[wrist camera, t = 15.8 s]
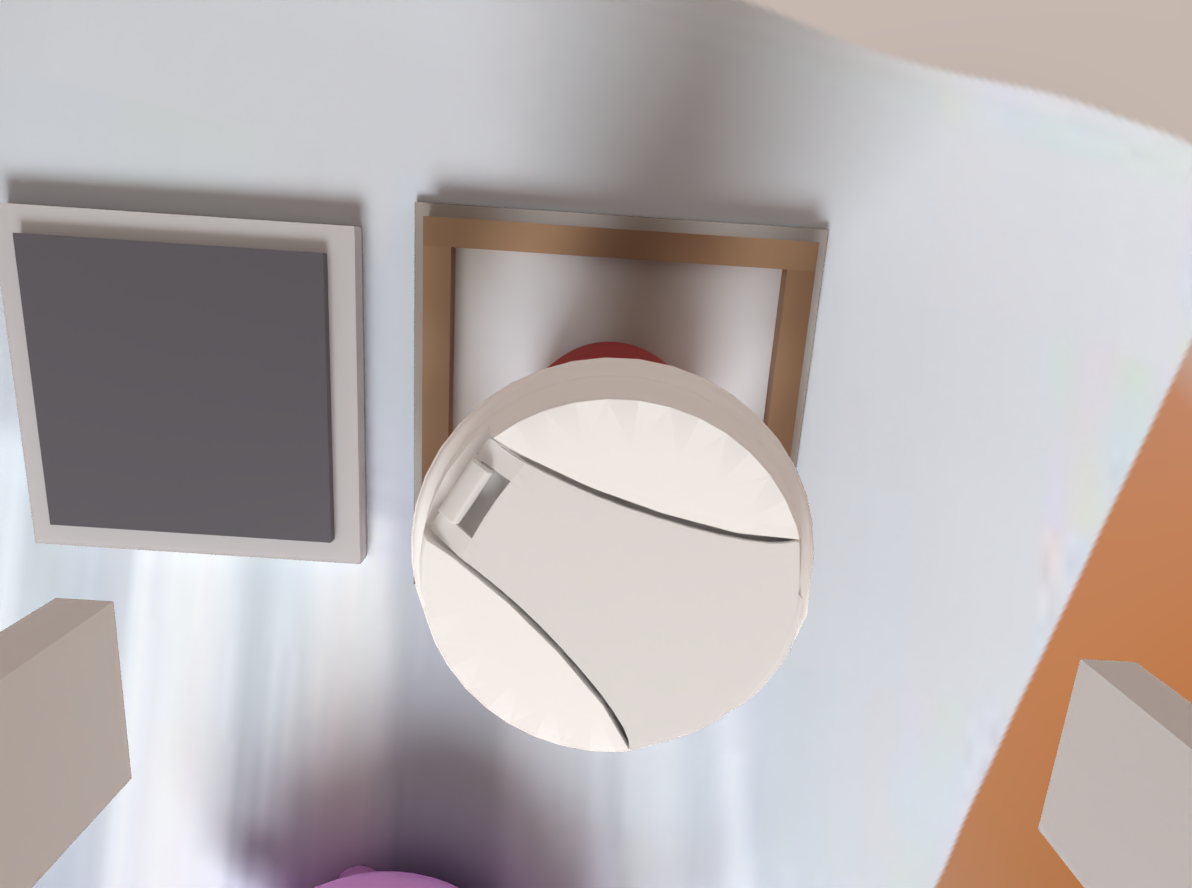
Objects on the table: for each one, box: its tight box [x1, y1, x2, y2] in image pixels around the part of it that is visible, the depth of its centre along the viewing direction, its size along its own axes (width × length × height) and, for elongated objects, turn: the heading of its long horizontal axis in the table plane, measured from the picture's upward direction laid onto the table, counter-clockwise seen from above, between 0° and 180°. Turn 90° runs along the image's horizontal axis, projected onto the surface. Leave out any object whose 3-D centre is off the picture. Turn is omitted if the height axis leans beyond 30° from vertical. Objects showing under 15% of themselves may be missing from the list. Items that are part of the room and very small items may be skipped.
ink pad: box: [0, 203, 367, 564], centre depth 28 cm, size 13×13×1 cm
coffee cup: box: [411, 342, 814, 752], centre depth 21 cm, size 8×8×15 cm
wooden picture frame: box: [414, 202, 829, 584], centre depth 28 cm, size 15×15×1 cm
